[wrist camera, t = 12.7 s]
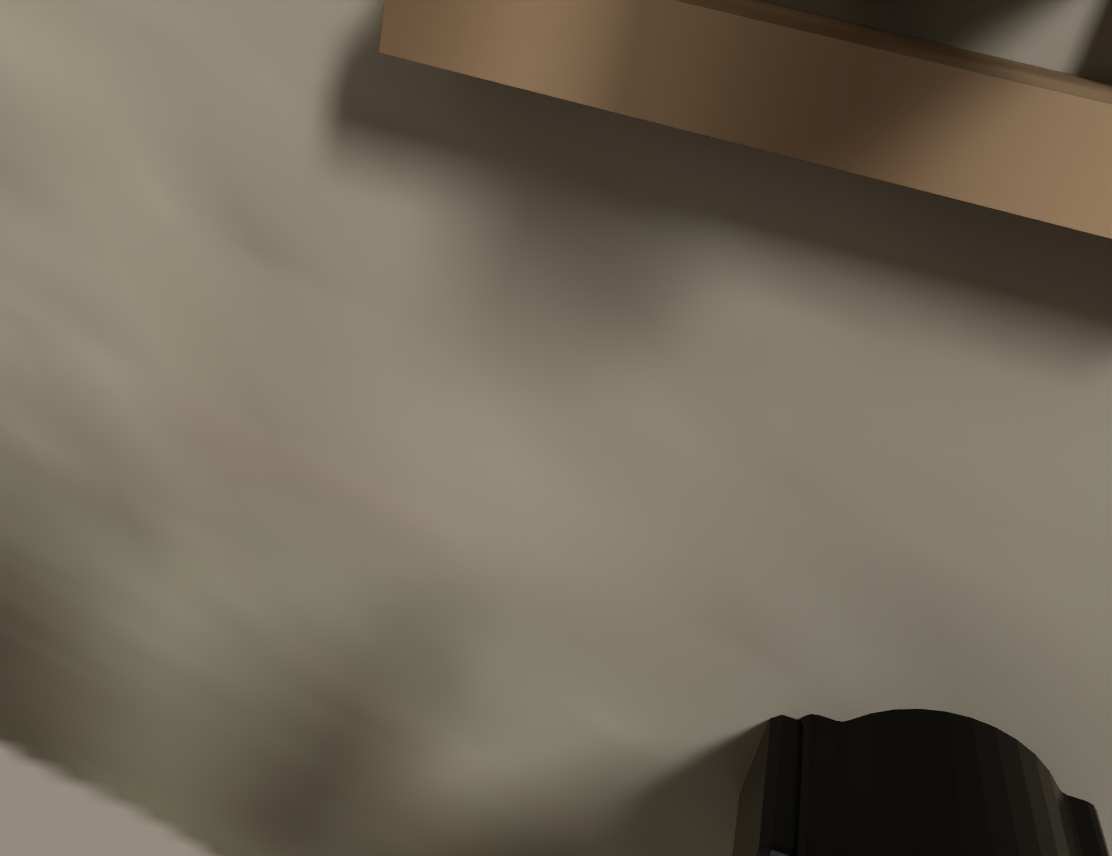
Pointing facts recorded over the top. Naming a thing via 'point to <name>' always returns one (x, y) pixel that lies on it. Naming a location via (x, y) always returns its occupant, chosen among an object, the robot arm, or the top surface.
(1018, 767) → the robot arm
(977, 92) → the walnut rack
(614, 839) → the top surface
